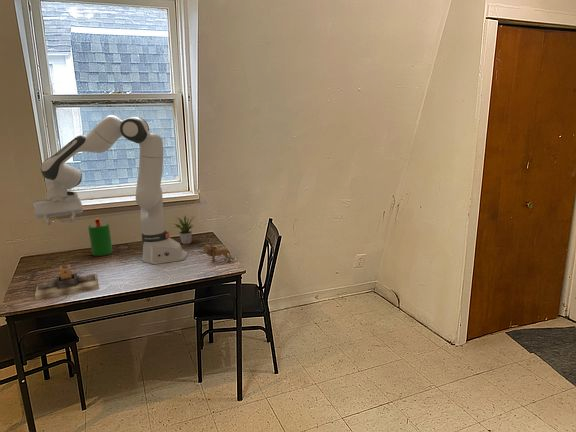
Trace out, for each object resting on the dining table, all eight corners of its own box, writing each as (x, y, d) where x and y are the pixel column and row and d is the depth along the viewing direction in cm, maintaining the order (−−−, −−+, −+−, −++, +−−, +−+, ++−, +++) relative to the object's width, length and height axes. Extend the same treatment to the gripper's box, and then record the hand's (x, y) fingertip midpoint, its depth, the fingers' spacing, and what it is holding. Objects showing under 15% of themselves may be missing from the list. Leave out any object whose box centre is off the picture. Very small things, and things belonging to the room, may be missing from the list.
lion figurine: (204, 263, 210) (202, 246, 208) (205, 260, 215) (203, 243, 213) (234, 262, 211) (232, 244, 209) (234, 258, 217) (233, 241, 214)
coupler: (73, 281, 188) (70, 264, 186) (72, 284, 184) (69, 267, 182) (62, 283, 186) (59, 265, 184) (62, 286, 182) (59, 268, 180)
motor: (111, 249, 237) (106, 214, 232) (114, 253, 230) (109, 217, 225) (91, 252, 232) (86, 217, 227) (93, 257, 225) (88, 220, 220)
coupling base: (97, 277, 197) (96, 267, 196) (98, 288, 184) (97, 277, 183) (38, 288, 187) (36, 277, 186) (35, 300, 175) (33, 289, 173)
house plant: (193, 236, 256) (190, 210, 252) (204, 241, 246) (202, 214, 242) (171, 242, 247) (168, 214, 243) (182, 247, 237) (179, 218, 233)
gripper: (31, 197, 196) (33, 222, 190) (80, 191, 205) (83, 215, 199) (34, 205, 201) (36, 229, 195) (81, 199, 210) (85, 222, 204)
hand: (60, 222), depth 197 cm, fingers open, 8 cm apart
